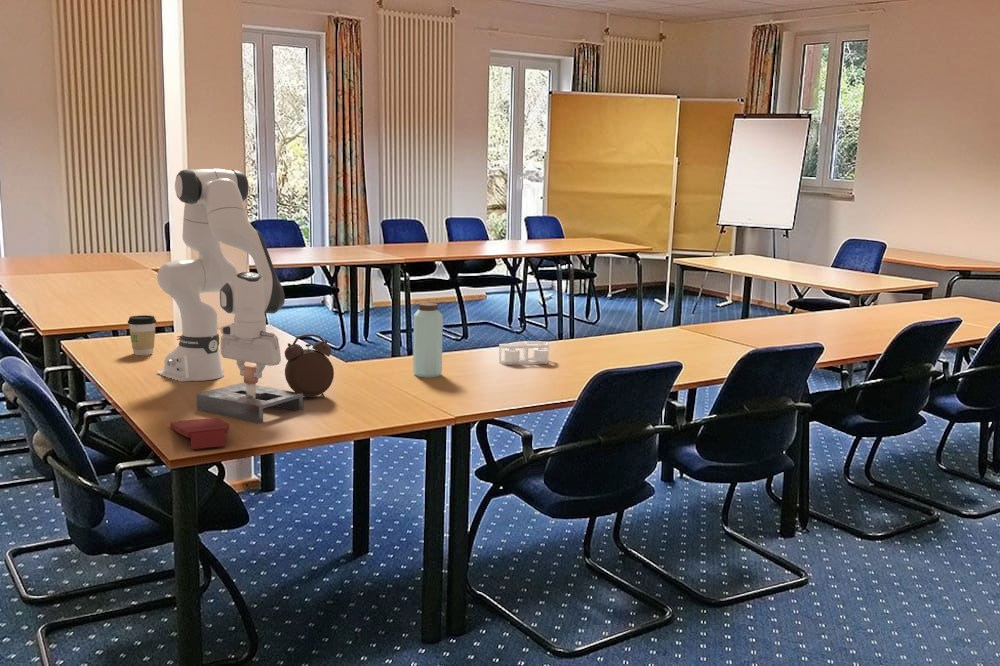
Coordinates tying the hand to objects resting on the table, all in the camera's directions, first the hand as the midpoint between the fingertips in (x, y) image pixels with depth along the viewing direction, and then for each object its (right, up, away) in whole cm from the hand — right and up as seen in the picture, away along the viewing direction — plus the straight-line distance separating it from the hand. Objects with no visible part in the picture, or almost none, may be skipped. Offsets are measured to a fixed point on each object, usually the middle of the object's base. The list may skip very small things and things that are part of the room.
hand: (250, 376), depth 268 cm
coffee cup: (-58, +3, +70) cm, 91 cm away
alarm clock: (+13, -8, +18) cm, 24 cm away
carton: (-12, -14, -14) cm, 23 cm away
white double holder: (+81, +1, +79) cm, 114 cm away
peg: (0, -9, +2) cm, 10 cm away
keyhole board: (-1, -10, +2) cm, 10 cm away
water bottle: (+47, -2, +54) cm, 71 cm away
